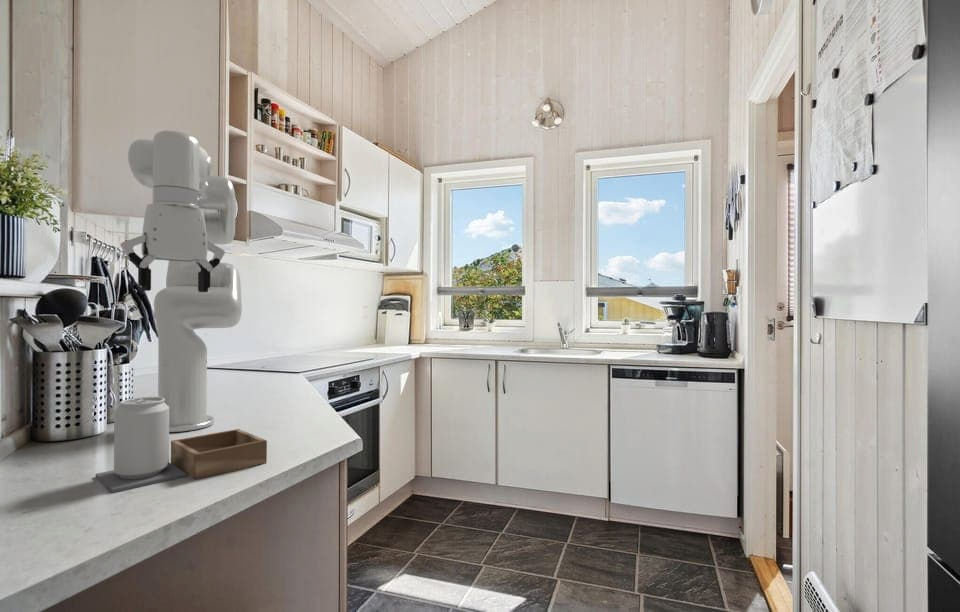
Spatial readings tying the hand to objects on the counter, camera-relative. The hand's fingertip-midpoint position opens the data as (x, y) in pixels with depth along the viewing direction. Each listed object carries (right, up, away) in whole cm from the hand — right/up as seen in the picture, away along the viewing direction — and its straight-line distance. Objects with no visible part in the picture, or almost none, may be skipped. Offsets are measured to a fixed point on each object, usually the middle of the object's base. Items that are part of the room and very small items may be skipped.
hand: (175, 291), depth 96 cm
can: (+2, -30, -13) cm, 33 cm away
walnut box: (+11, -31, -6) cm, 33 cm away
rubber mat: (+2, -31, -13) cm, 33 cm away
